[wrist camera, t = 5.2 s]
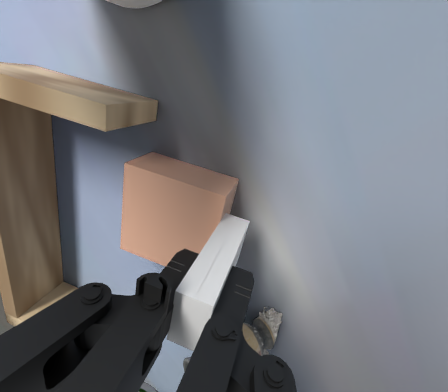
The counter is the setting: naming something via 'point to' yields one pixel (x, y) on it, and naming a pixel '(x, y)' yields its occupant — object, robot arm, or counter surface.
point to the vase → (259, 332)
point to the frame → (44, 174)
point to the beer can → (146, 388)
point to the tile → (171, 206)
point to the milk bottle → (134, 3)
